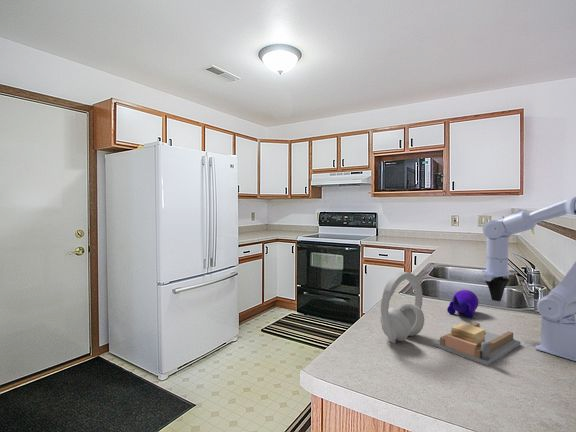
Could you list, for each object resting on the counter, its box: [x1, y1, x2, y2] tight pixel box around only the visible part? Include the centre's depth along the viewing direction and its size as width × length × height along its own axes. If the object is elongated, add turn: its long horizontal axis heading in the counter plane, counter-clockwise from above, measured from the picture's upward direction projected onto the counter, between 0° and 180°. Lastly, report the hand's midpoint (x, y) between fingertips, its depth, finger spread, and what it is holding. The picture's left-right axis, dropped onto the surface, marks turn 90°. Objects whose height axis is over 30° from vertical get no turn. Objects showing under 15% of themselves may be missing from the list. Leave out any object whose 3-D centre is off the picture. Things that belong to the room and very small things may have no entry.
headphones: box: [379, 271, 425, 344], centre depth 96 cm, size 19×8×20 cm, turn 127°
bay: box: [433, 321, 521, 367], centre depth 91 cm, size 14×21×5 cm, turn 125°
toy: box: [446, 289, 479, 319], centre depth 118 cm, size 9×10×15 cm
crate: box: [450, 322, 486, 348], centre depth 88 cm, size 6×6×5 cm
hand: (496, 300), depth 101 cm, fingers closed
